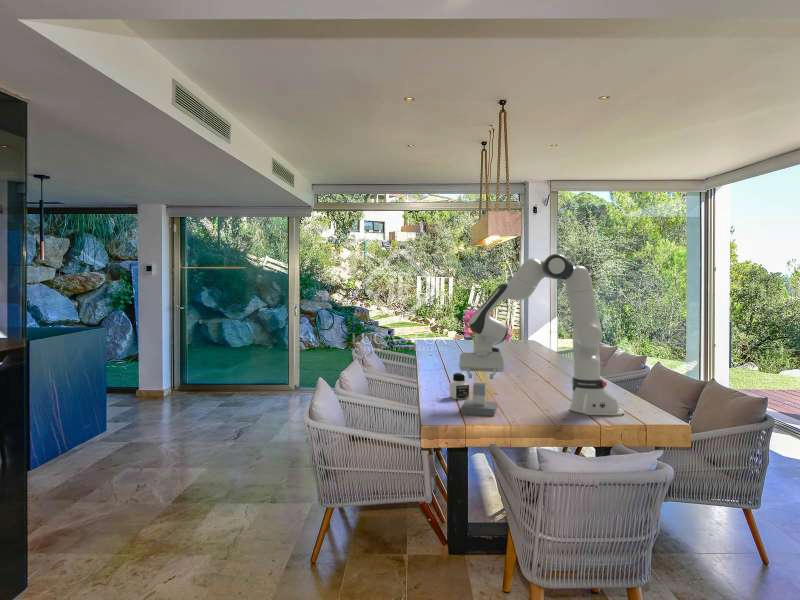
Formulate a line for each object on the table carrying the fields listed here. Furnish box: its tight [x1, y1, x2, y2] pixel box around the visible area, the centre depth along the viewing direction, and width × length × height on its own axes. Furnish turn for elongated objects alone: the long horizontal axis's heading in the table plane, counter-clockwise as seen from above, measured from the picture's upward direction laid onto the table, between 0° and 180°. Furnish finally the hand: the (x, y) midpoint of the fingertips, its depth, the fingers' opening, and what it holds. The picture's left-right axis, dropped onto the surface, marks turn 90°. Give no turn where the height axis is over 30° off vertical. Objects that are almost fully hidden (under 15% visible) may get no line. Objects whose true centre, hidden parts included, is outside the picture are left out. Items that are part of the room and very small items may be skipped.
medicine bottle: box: [449, 372, 470, 400], centre depth 262 cm, size 7×7×12 cm
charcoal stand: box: [460, 399, 498, 417], centre depth 234 cm, size 14×14×3 cm
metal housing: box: [472, 382, 487, 406], centre depth 234 cm, size 5×5×9 cm
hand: (480, 378), depth 237 cm, fingers open, 8 cm apart
